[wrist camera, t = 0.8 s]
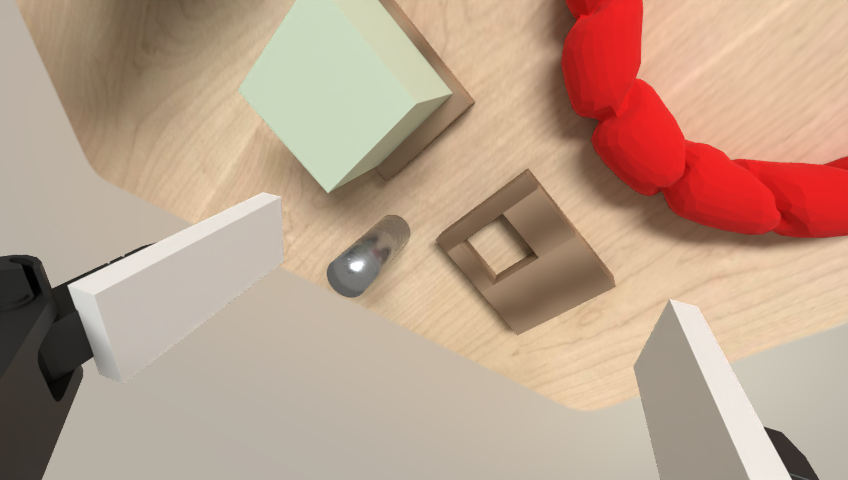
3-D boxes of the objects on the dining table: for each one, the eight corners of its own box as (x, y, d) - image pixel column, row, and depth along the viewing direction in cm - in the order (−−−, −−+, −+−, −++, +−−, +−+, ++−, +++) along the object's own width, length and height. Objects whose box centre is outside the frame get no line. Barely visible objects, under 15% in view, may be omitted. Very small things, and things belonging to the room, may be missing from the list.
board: (307, 73, 35) (255, 76, 29) (378, -20, 31) (332, -41, 25) (394, 176, 37) (361, 198, 31) (475, 102, 32) (454, 111, 26)
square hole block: (442, 232, 38) (436, 240, 36) (528, 168, 33) (525, 174, 31) (519, 323, 39) (517, 335, 37) (613, 275, 34) (615, 286, 32)
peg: (372, 227, 40) (319, 272, 31) (394, 208, 38) (344, 251, 30) (394, 252, 40) (347, 304, 32) (417, 234, 39) (374, 284, 30)
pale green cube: (309, 84, 34) (237, 90, 26) (376, -3, 29) (311, -25, 22) (378, 165, 35) (327, 193, 27) (453, 93, 30) (416, 103, 23)
